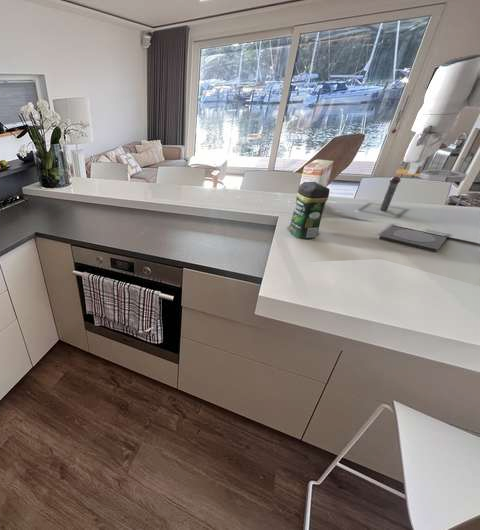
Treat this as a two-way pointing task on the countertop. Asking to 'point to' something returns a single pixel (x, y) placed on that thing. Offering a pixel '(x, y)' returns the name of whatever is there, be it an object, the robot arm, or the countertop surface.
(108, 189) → the countertop surface
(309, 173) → the coffeecake box
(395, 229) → the hob plate
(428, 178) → the steel loop
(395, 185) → the post
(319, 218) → the coffee jar
